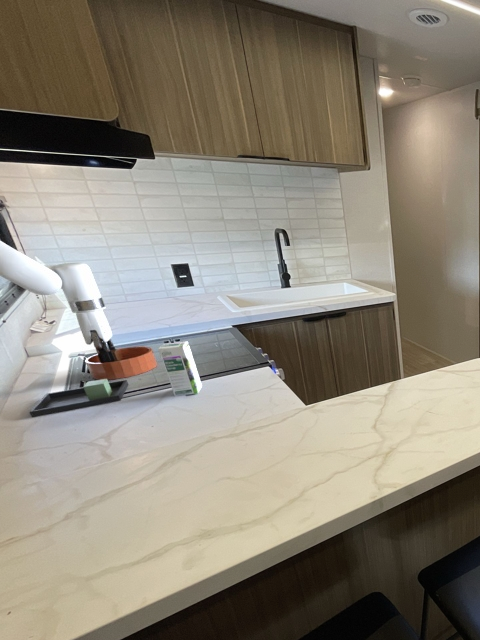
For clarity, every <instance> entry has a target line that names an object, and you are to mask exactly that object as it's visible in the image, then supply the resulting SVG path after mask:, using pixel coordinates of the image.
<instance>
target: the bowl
mask: <svg viewBox="0 0 480 640" xmlns="http://www.w3.org/2000/svg"><path fill="white" fill-rule="evenodd" d="M116 349H117V350H118V352H119V355H120V357H121V361H115V362H107V363H100V361H99V359H98V356H97V355H98V354H97V353H96V354H94V355H91V356H89V357H86V359H85V360H84V362H85V365H86V367H87V369H88V371H89V373H90V376H91V378H92V379H93V380H102V379H107V380H108V381H111V380H112V381H113V380H120V379H126V378H129V377H130V378H131V377H134V376H138V375H141V374H144V373H147V372H149V371H152V370H154V369H155V368H157V367H158V362H157V358H156V356H155V353H154V350H153V348H152V347H149V346H129V347H121V348H116Z"/></svg>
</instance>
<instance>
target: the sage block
mask: <svg viewBox="0 0 480 640" xmlns="http://www.w3.org/2000/svg"><path fill="white" fill-rule="evenodd" d="M109 383H110V382H109V380H107V379H102V380H97V379H95V380H91V381H86V383H84V385H83V388H84V390H85V392H86V395H87V397H88V399H89V400H93V399H99V398H104V397H110V395H111V393H112V390H111V388H110V385H109Z"/></svg>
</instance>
